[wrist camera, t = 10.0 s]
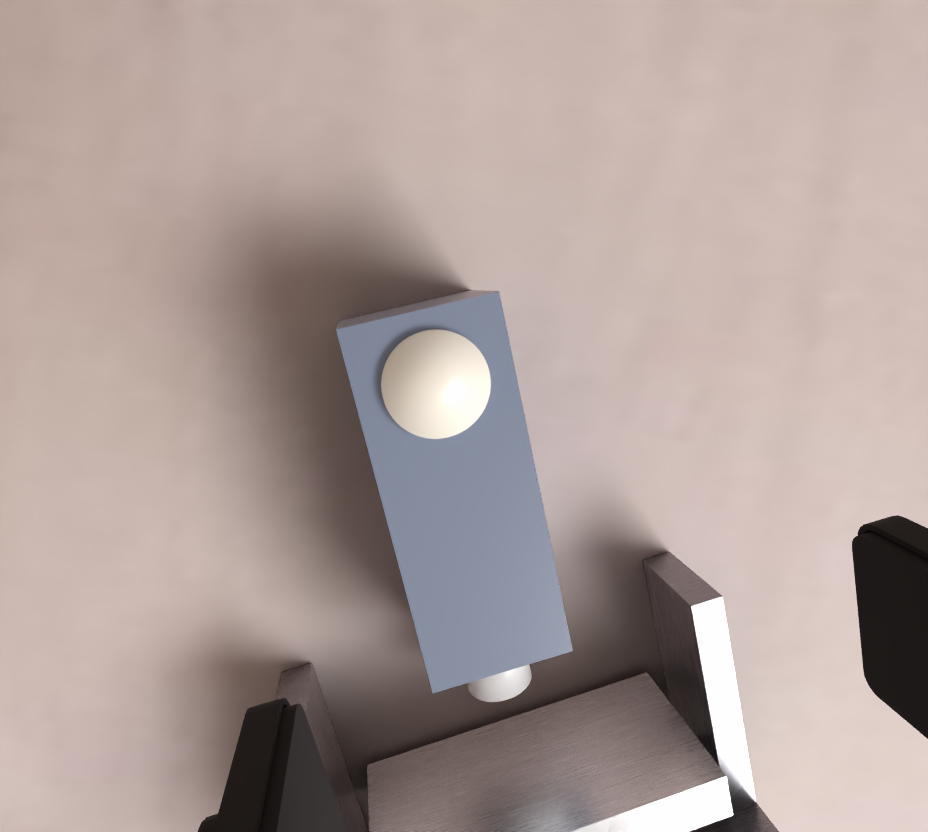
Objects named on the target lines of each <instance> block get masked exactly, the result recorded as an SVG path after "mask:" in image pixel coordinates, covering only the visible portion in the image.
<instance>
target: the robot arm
mask: <svg viewBox="0 0 928 832" xmlns="http://www.w3.org/2000/svg"><path fill="white" fill-rule="evenodd" d="M852 552H853V562H854V573H855V584H856V594H857V605H858V616H859V627H860V637H861V648H862V659H863V669H864V675H865V678H866V681H867V683H868V685H869V686H870V688H871V689H872V691H873V692H874V693H875V694H876V695H877V696H878V697H879V698H880V699H881V700H882V701H883V702H885V703H886V704H887V705H888V706H889V707H891V708H892V709H893V710H894V711H895V712H897V713H898V714H899V715H900V716H901V717H902V718H904V719H905V720H906V721H907V722H908V723H910V724H911V725H912V726H913V727H914V728H916V729H917V730H918V731H919V732H920V733H921V734H923V735H924V736H925V737H926V738H927V739H928V528H926V527H923V526H921V525H919V524H917V523H915V522H913V521H911V520H908V519H906V518H904V517H901V516H891V517H888V518H885V519H881V520H878V521H875V522H871V523H868V524H864V525H863V526H861V527H860V529H859V531H858V536H856V537H855V538H854V539H853V541H852ZM198 832H347V831H346V828H345V825H344V822H343V820H342V817H341V814H340V811H339V808H338V805H337V803H336V800H335V797H334V794H333V791H332V788H331V785H330V783H329V780H328V777H327V774H326V771H325V768H324V766H323V763H322V760H321V757H320V754H319V751H318V748H317V746H316V743H315V740H314V737H313V734H312V731H311V729H310V726H309V723H308V720H307V717H306V714H305V712H304V709H303V707H302V705H301V704H299V703H298V704H295V705H292V706H290V704H289V702H288V700H287V699H286V698H281V699H278V700H274V701H271V702H268V703H264V704H261V705H258V706H254V707H251V708H249V709H247V712H246V714H245V718H244V721H243V725H242V729H241V732H240V736H239V740H238V743H237V747H236V751H235V754H234V758H233V762H232V765H231V769H230V773H229V776H228V780H227V784H226V787H225V791H224V795H223V798H222V802H221V806H220V809H219V813H218V814H216V815H213V816H209V817H206V818H205V820H204V821H203V822H202V823H201V825H200V827H199V830H198Z"/></svg>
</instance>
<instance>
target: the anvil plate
mask: <svg viewBox="0 0 928 832" xmlns="http://www.w3.org/2000/svg"><path fill="white" fill-rule="evenodd" d="M367 775H368V808H369V832H689V831H692V830H695V829H697V828H700V827H703V826H706V825H708V824H711V823H714V822H717V821H719V820H722V819H725V818H728V817H730V816H733V811H732V806H731V800H730V794H729V788H728V783H727V777H726V775H725V774H724V772H723V771H722V770H721V769H720V767H719V766H718V765H717V763H716V762H715V761H714V759H713V758H712V757H711V755H710V754H709V753H708V751H707V750H706V749H705V748H704V746H703V745H702V744H701V742H700V741H699V740H698V738H697V737H696V736H695V734H694V733H693V732H692V730H691V729H690V728H689V727H688V725H687V724H686V723H685V721H684V720H683V719H682V717H681V716H680V715H679V713H678V712H677V711H676V709H675V708H674V707H673V706H672V704H671V703H670V702H669V700H668V699H667V698H666V696H665V695H664V694H663V692H662V691H661V690H660V689H659V687H658V686H657V685H656V683H655V682H654V681H653V679H652V678H651V677H650V675H649V674H648V673H647V672H646V673H643V674H640V675H637V676H634V677H631V678H628V679H625V680H622V681H619V682H616V683H613V684H610V685H607V686H604V687H601V688H598V689H595V690H592V691H589V692H586V693H583V694H580V695H577V696H574V697H571V698H567V699H564V700H561V701H558V702H555V703H552V704H549V705H546V706H543V707H540V708H537V709H534V710H531V711H528V712H525V713H522V714H519V715H516V716H513V717H510V718H507V719H504V720H501V721H498V722H495V723H492V724H489V725H486V726H483V727H480V728H477V729H474V730H471V731H468V732H465V733H462V734H459V735H456V736H453V737H450V738H447V739H444V740H441V741H438V742H435V743H432V744H429V745H426V746H423V747H420V748H416V749H413V750H410V751H407V752H404V753H401V754H398V755H395V756H392V757H389V758H386V759H383V760H380V761H377V762H374V763H371V764H368V765H367Z"/></svg>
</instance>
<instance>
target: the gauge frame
mask: <svg viewBox="0 0 928 832" xmlns="http://www.w3.org/2000/svg"><path fill="white" fill-rule="evenodd" d="M643 565H644V570H645V576H646V581H647V586H648V591H649V597H650V602H651V607H652V612H653V617H654V623H655V628H656V633H657V638H658V643H659V649H660V654H661V659H662V664H663V669H664V675H665V680H666V685H667V690H668V696H669V701H670V703H671V704H672V706H673V707H674V708H675V709H676V711H677V712H678V713H679V715H680V716H681V717H682V719H683V720H684V721H685V723H686V724H687V725H688V727H689V728H690V729H691V730H692V732H693V733H694V734H695V736H696V737H697V738H698V740H699V741H700V742H701V744H702V745H703V746H704V748H705V749H706V750H707V751H708V753H709V754H710V755H711V757H712V758H713V759H714V761H715V762H716V763H717V765H718V766H719V767H720V769H721V770H722V771H723V772H724V774H725V775H726V777H727V783H728V788H729V794H730V800H731V806H732V811H733V816H730V817H728V818H725V819H722V820H719V821H717V822H714V823H711V824H708V825H706V826H703V827H700V828H697V829H695V830H692V831H689V832H779V831H778V830H777V829H776V827H775V826H774V825H773V824H772V822H771V821H770V820H769V818H768V817H767V816H766V815H765V813H764V812H763V811H762V810H761V808H760V807H759V806H758V804H757V803H756V798H755V792H754V786H753V780H752V774H751V767H750V761H749V755H748V749H747V743H746V737H745V731H744V725H743V718H742V712H741V706H740V700H739V694H738V688H737V682H736V675H735V669H734V663H733V657H732V651H731V645H730V639H729V633H728V626H727V620H726V614H725V608H724V602H723V596H722V595H720V594H719V593H718V592H717V591H716V590H714V589H713V588H712V587H711V586H710V585H709V584H707V583H706V582H705V581H704V580H703V579H701V578H700V577H699V576H698V575H697V574H695V573H694V572H693V571H692V570H691V569H689V568H688V567H687V566H686V565H685V564H683V563H682V562H681V561H680V560H679V559H677V558H676V557H675V556H674V555H673V554H672V553H670V552H667V553H664V554H661V555H658V556H654V557H651V558H648V559H645V560H643ZM281 698H286V699H287V700H288V702H289V704H290V706H292V705H295V704H298V703H299V704H301V705H302V707H303V709H304V712H305V714H306V717H307V720H308V723H309V726H310V729H311V731H312V734H313V737H314V740H315V743H316V746H317V748H318V751H319V754H320V757H321V760H322V763H323V766H324V768H325V771H326V774H327V777H328V780H329V783H330V785H331V788H332V791H333V794H334V797H335V800H336V803H337V805H338V808H339V811H340V814H341V817H342V820H343V822H344V825H345V828H346V831H347V832H368V830H367V827H366V824H365V821H364V818H363V815H362V812H361V809H360V806H359V803H358V800H357V797H356V794H355V791H354V788H353V785H352V782H351V779H350V776H349V773H348V770H347V767H346V764H345V761H344V758H343V755H342V752H341V749H340V746H339V743H338V740H337V737H336V734H335V731H334V728H333V725H332V722H331V719H330V716H329V713H328V710H327V707H326V704H325V701H324V698H323V695H322V692H321V689H320V686H319V683H318V680H317V677H316V674H315V671H314V668H313V665H312V663H310V664H307V665H303V666H300V667H297V668H294V669H290V670H287V671H284V672H281V675H280V681H279V686H278V691H277V697H276V700H278V699H281Z"/></svg>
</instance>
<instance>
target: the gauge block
mask: <svg viewBox="0 0 928 832" xmlns="http://www.w3.org/2000/svg"><path fill="white" fill-rule="evenodd" d="M336 332H337V336H338V340H339V343H340V347H341V351H342V355H343V358H344V362H345V366H346V370H347V373H348V377H349V381H350V385H351V388H352V392H353V396H354V400H355V404H356V407H357V411H358V415H359V419H360V422H361V426H362V430H363V434H364V437H365V441H366V445H367V449H368V452H369V456H370V460H371V464H372V467H373V471H374V475H375V479H376V482H377V486H378V490H379V494H380V497H381V501H382V505H383V509H384V513H385V516H386V520H387V524H388V528H389V531H390V535H391V539H392V543H393V546H394V550H395V554H396V558H397V561H398V565H399V569H400V573H401V576H402V580H403V584H404V588H405V591H406V595H407V599H408V603H409V607H410V610H411V614H412V618H413V622H414V625H415V629H416V633H417V637H418V640H419V644H420V648H421V652H422V655H423V659H424V663H425V667H426V670H427V674H428V678H429V682H430V685H431V689H432V693H436V692H440V691H443V690H446V689H450V688H453V687H456V686H459V685H463V684H466V683H467V685H468V689H469V692H470V693H471V695H472V696H474V697H475V698H477V699H479V700H481V701H486V702H499V701H504V700H508V699H511V698H513V697H515V696H517V695H519V694H520V693H521V692H523V691H524V690H525V689H526V688H527V687H528V685H529V683H530V681H531V677H532V675H531V669H530V665H529V664H532V663H535V662H539V661H542V660H545V659H548V658H552V657H555V656H558V655H562V654H565V653H568V652H571V651H573V649H572V644H571V639H570V634H569V629H568V625H567V620H566V615H565V610H564V605H563V600H562V595H561V591H560V586H559V581H558V576H557V571H556V566H555V561H554V557H553V552H552V547H551V542H550V537H549V532H548V527H547V522H546V518H545V513H544V508H543V503H542V498H541V493H540V488H539V484H538V479H537V474H536V469H535V464H534V459H533V454H532V450H531V445H530V440H529V435H528V430H527V425H526V420H525V416H524V411H523V406H522V401H521V396H520V391H519V386H518V382H517V377H516V372H515V367H514V362H513V357H512V352H511V347H510V343H509V338H508V333H507V328H506V323H505V318H504V313H503V309H502V304H501V299H500V294H499V291H477V290H469V291H465V292H461V293H456V294H452V295H448V296H444V297H439V298H435V299H431V300H426V301H422V302H418V303H414V304H409V305H405V306H401V307H396V308H392V309H388V310H384V311H379V312H375V313H371V314H366V315H362V316H358V317H354V318H349V319H345V320H341V321H339V323H338V326H337V328H336Z"/></svg>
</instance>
